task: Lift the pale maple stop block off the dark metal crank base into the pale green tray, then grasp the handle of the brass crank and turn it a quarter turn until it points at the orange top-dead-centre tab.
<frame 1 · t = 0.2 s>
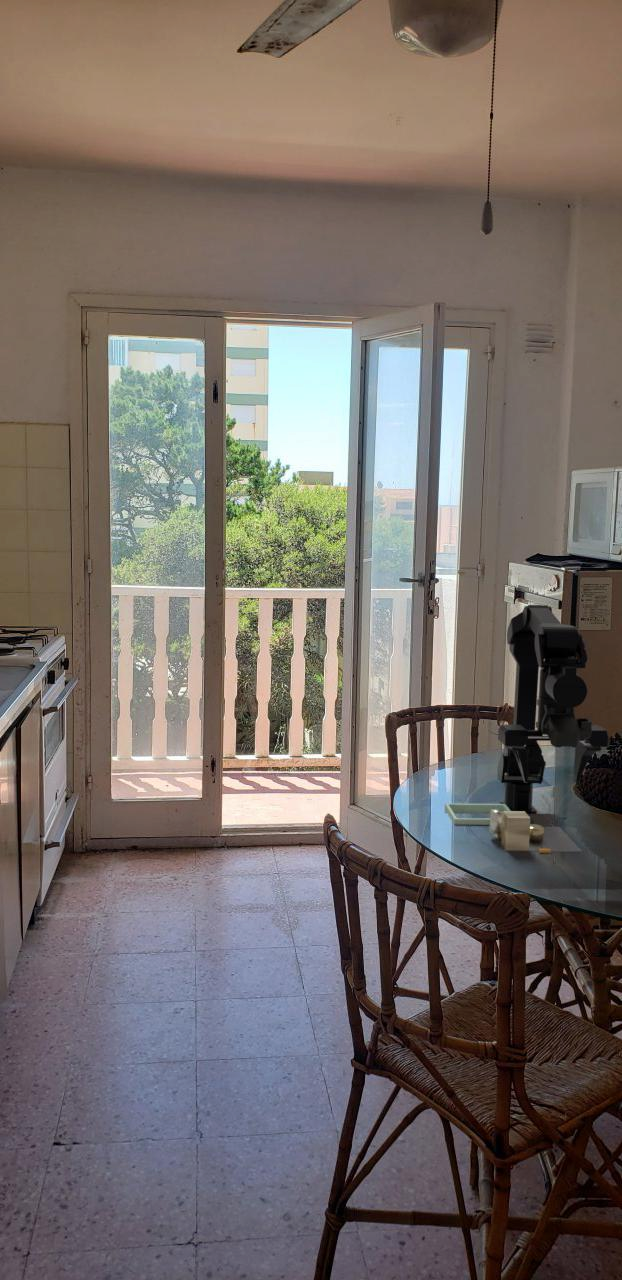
hand: (550, 782, 177), 14 cm above the table, fingers open, 9 cm apart
crank base: (532, 846, 183), on the table
caliper: (506, 788, 224), on the table
crank: (516, 824, 183), point 4 cm above the table, hinge at 0.0°
stop block: (514, 846, 178), point 1 cm above the table, touching crank base
tray: (480, 823, 196), on the table
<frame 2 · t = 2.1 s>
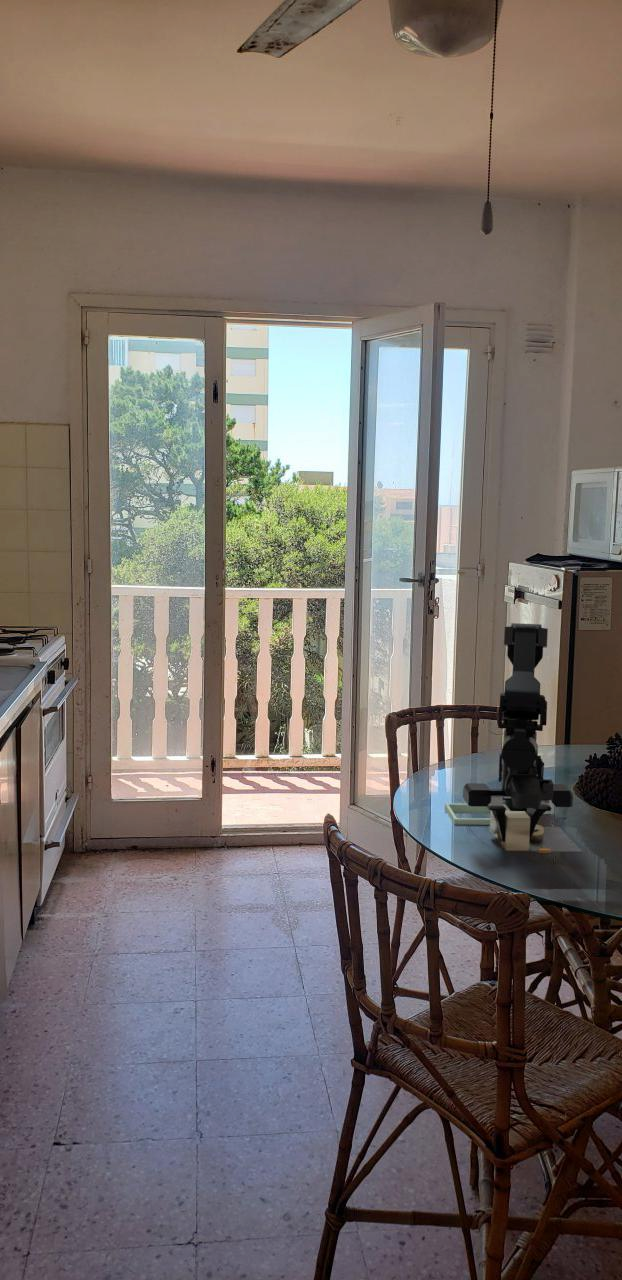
hand: (515, 841, 178), 3 cm above the table, fingers closed on stop block, 4 cm apart
stop block: (514, 846, 178), point 1 cm above the table, touching crank base, gripper
everything else where it was.
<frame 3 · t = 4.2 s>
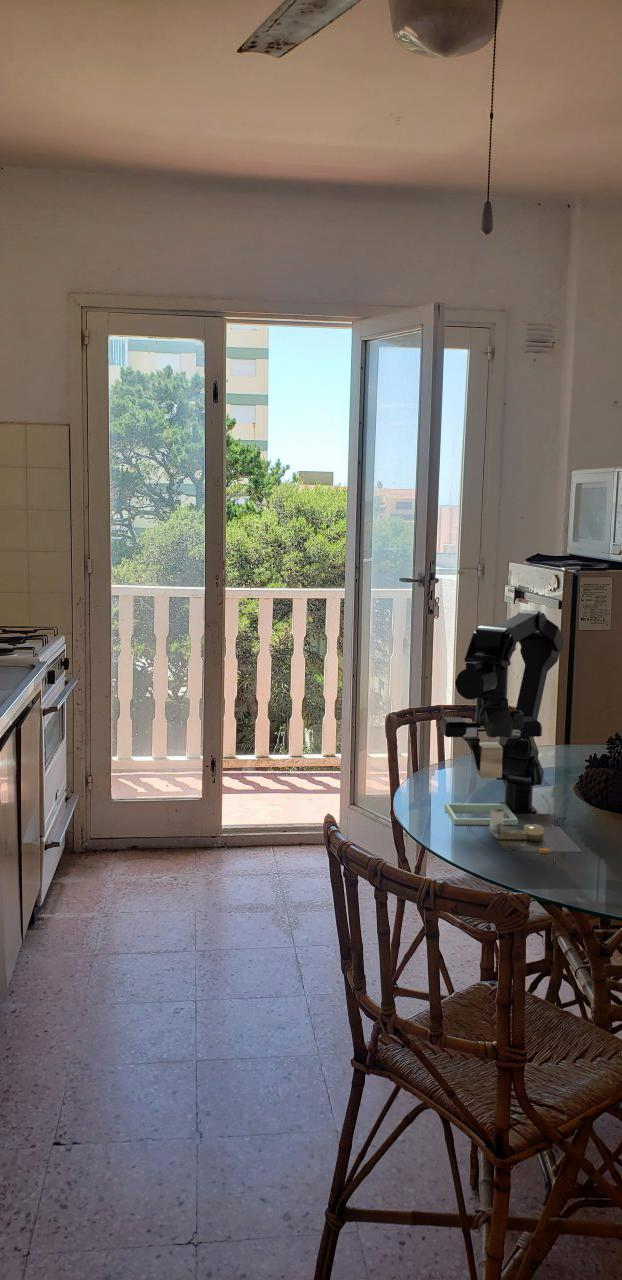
hand: (489, 770, 192), 12 cm above the table, fingers closed on stop block, 4 cm apart
stop block: (488, 775, 192), point 11 cm above the table, touching gripper
everything else where it was.
when the fingers open (3 cm above the table, at t = 6.4 s): stop block drops 2 cm, resting on tray.
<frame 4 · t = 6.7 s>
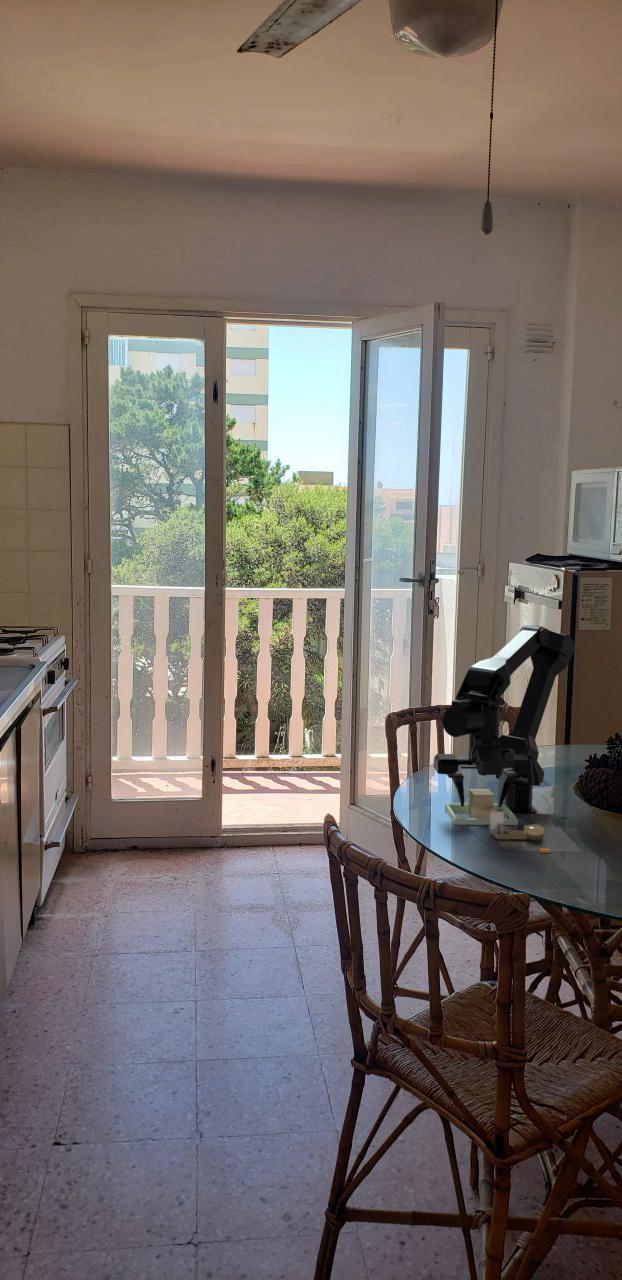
hand: (480, 806, 196), 3 cm above the table, fingers open, 7 cm apart
stop block: (480, 821, 196), resting on tray
everything else where it was.
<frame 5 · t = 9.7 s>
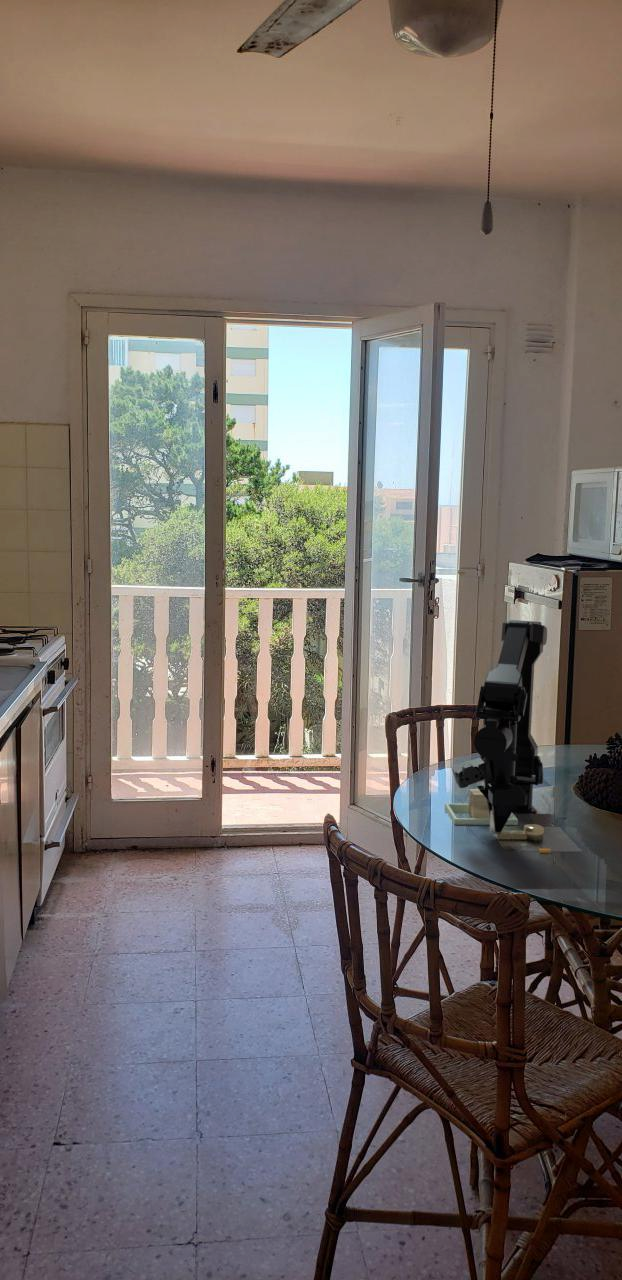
hand: (496, 829, 183), 3 cm above the table, fingers closed on crank, 2 cm apart
crank: (516, 824, 183), point 4 cm above the table, hinge at 0.0°, touching gripper
everything else where it was.
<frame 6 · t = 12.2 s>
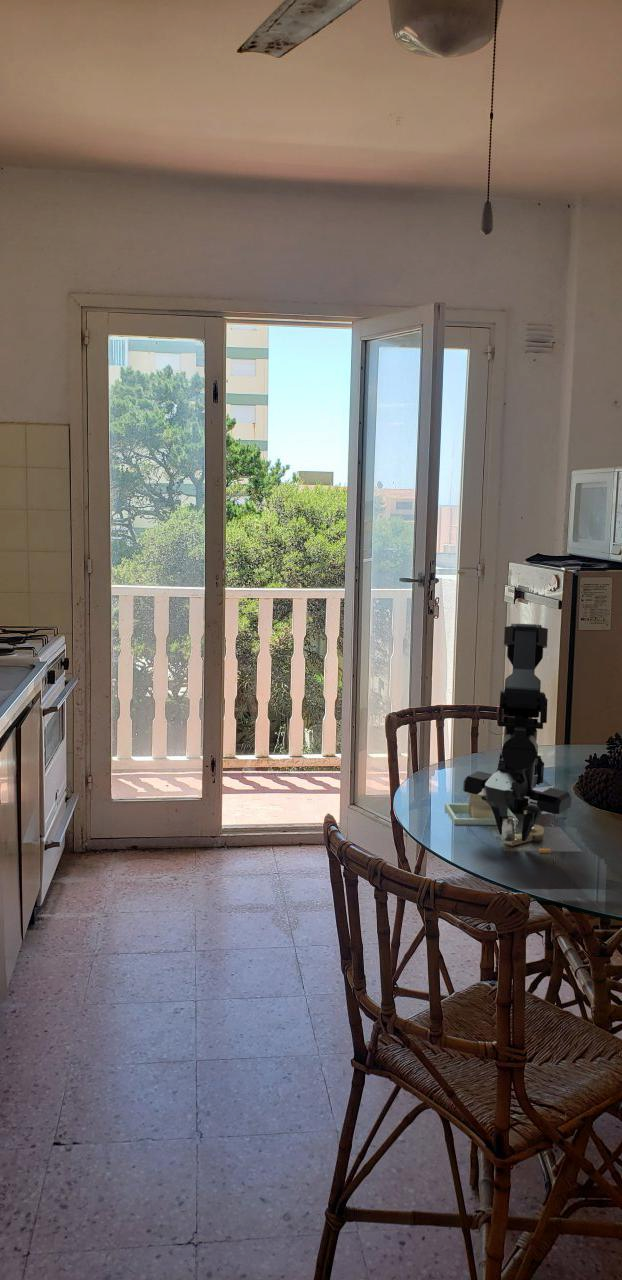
hand: (513, 837, 178), 3 cm above the table, fingers open, 4 cm apart
crank: (522, 827, 181), point 4 cm above the table, hinge at 34.7°, touching gripper
everything else where it was.
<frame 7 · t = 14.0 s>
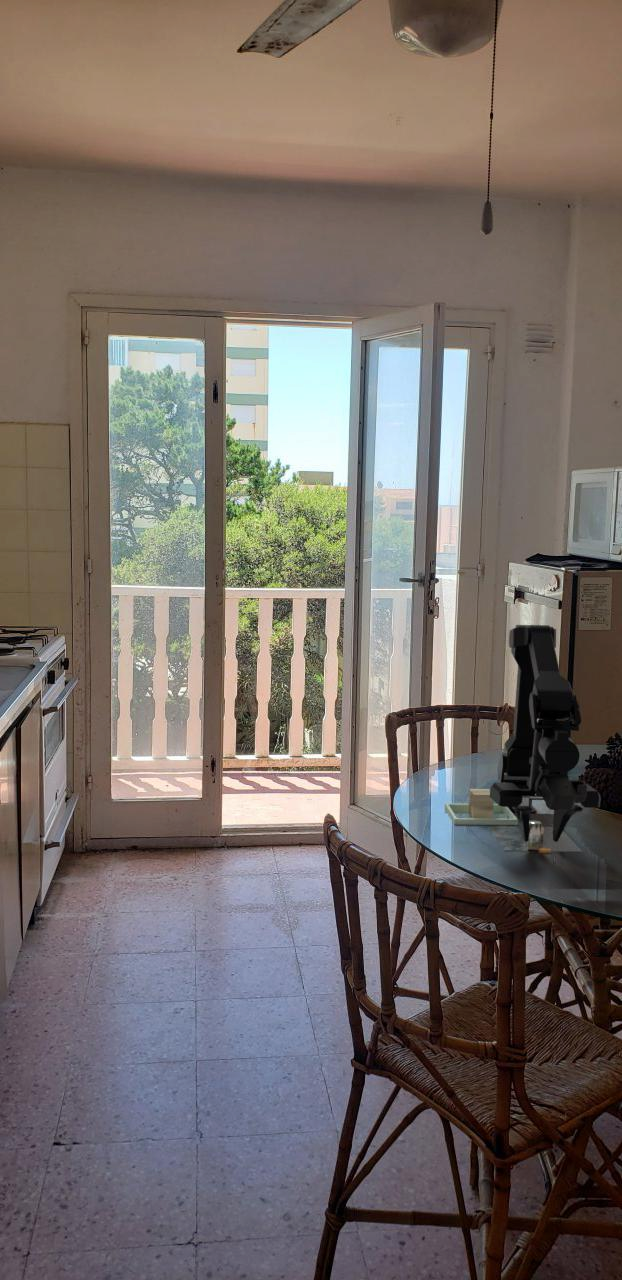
hand: (540, 841, 177), 3 cm above the table, fingers open, 5 cm apart
crank: (533, 829, 180), point 4 cm above the table, hinge at 74.8°, touching crank base, gripper
everything else where it was.
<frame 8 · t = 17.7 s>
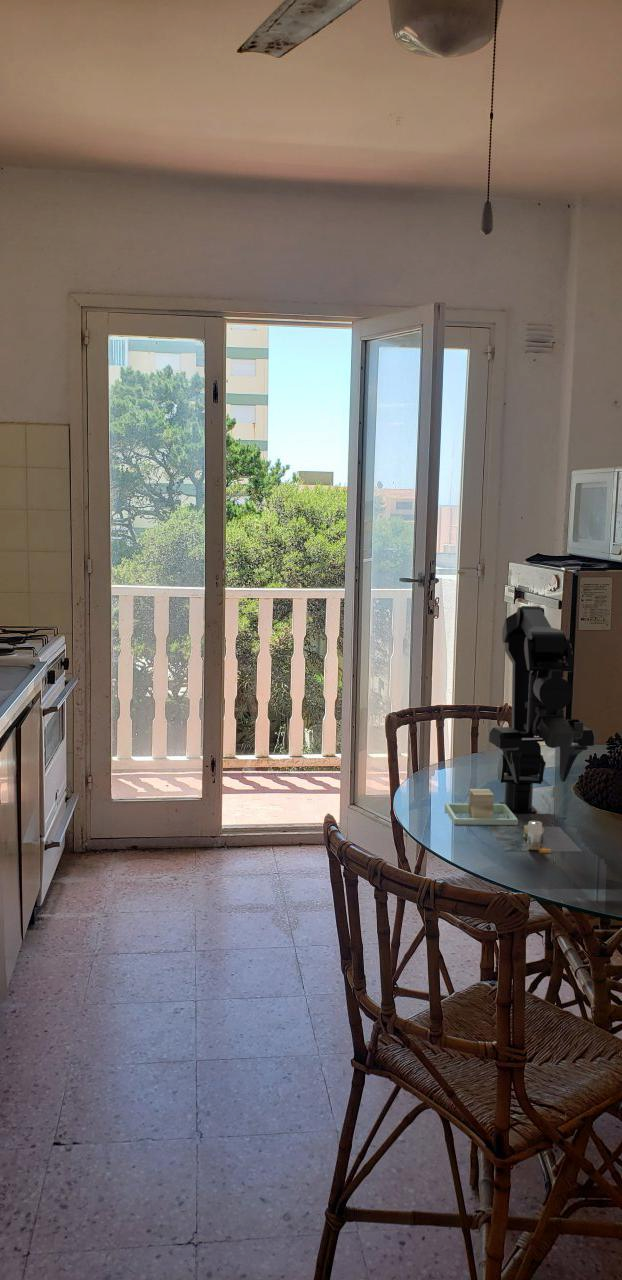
hand: (539, 782, 183), 12 cm above the table, fingers open, 9 cm apart
crank: (534, 829, 180), point 4 cm above the table, hinge at 75.7°, touching crank base
everything else where it was.
at the end: stop block inside the target area on the tray (0.0 cm from its centre), point 0.5 cm above the tray's base; crank at +76° (first picture: +0°); the gripper is holding nothing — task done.
